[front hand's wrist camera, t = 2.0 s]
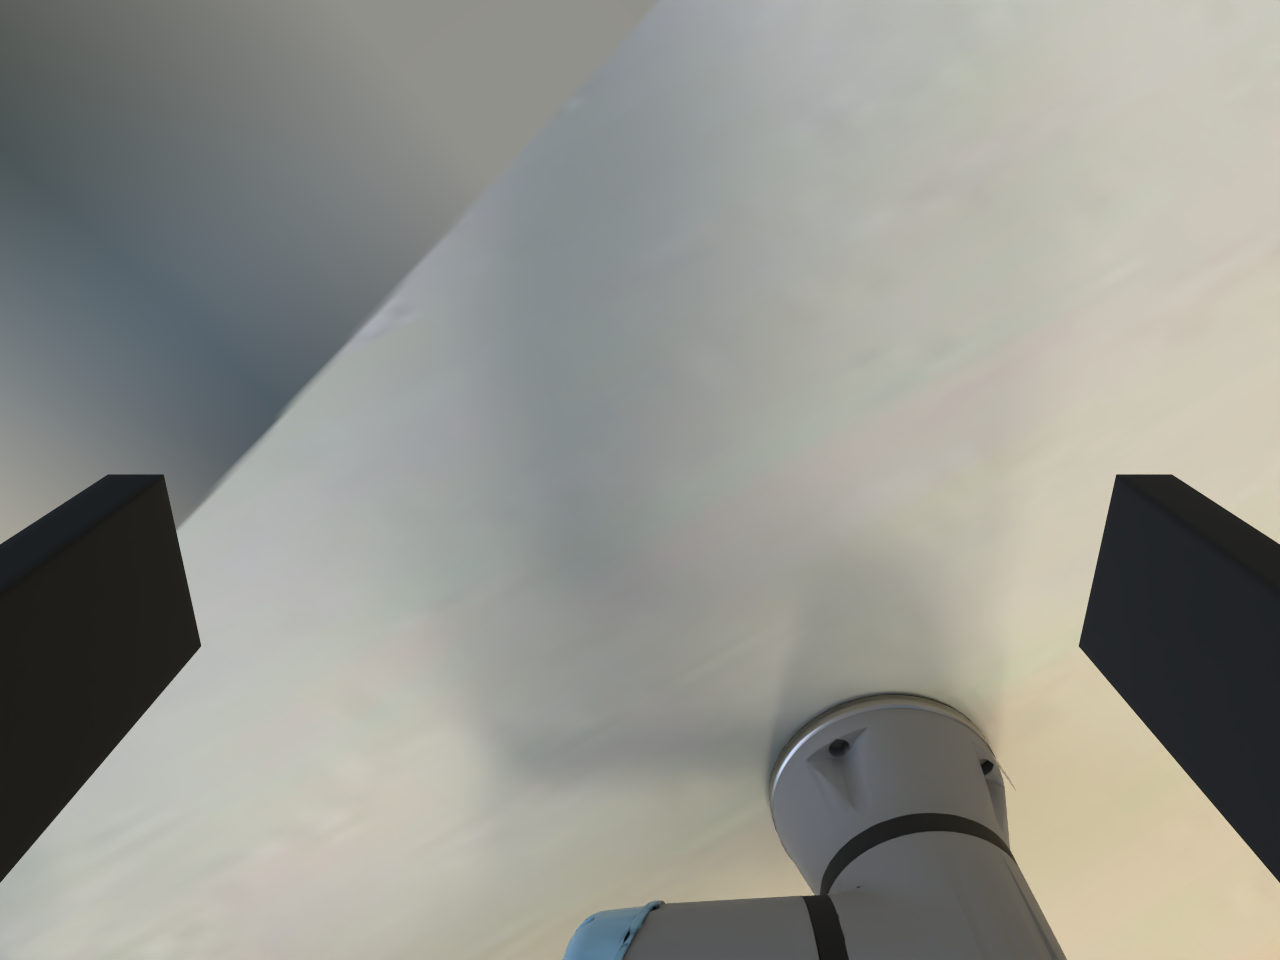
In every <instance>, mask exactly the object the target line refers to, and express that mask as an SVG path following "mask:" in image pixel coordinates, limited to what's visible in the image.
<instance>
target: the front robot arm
mask: <svg viewBox="0 0 1280 960" xmlns="http://www.w3.org/2000/svg"><path fill="white" fill-rule="evenodd" d="M200 647H201V643H200V638H199V634H198V629H197V625H196V620H195V615H194V611H193V606H192V602H191V597H190V593H189V588H188V584H187V579H186V574H185V570H184V565H183V561H182V556H181V552H180V547H179V542H178V538H177V533H176V529H175V524H174V520H173V515H172V510H171V506H170V501H169V497H168V492H167V488H166V483H165V479H164V475H107V476H105V477H104V478H102V479H101V480H99V481H97V482H96V483H94V484H93V485H91V486H90V487H88V488H87V489H85V490H84V491H82V492H80V493H79V494H77V495H76V496H74V497H73V498H71V499H70V500H68V501H67V502H65V503H64V504H62V505H60V506H59V507H57V508H56V509H54V510H53V511H51V512H50V513H48V514H47V515H45V516H43V517H42V518H41V519H39V520H37V521H36V522H34V523H33V524H31V525H30V526H28V527H27V528H25V529H23V530H22V531H20V532H19V533H17V534H16V535H14V536H13V537H11V538H10V539H8V540H6V541H5V542H3V543H2V544H0V882H1V881H2V880H3V879H4V878H5V876H6V875H7V874H8V873H9V872H10V871H11V869H12V868H13V867H14V866H15V865H16V863H17V862H18V861H19V860H20V859H21V858H22V856H23V855H24V854H25V853H26V852H27V851H28V849H29V848H30V847H31V846H32V845H33V843H34V842H35V841H36V840H37V839H38V838H39V836H40V835H41V834H42V833H43V832H44V831H45V829H46V828H47V827H48V826H49V825H50V823H51V822H52V821H53V820H54V819H55V818H56V816H57V815H58V814H59V813H60V812H61V811H62V809H63V808H64V807H65V806H66V805H67V803H68V802H69V801H70V800H71V799H72V798H73V796H74V795H75V794H76V793H77V792H78V791H79V789H80V788H81V787H82V786H83V785H84V783H85V782H86V781H87V780H88V779H89V778H90V776H91V775H92V774H93V773H94V772H95V770H96V769H97V768H98V767H99V766H100V765H101V763H102V762H103V761H104V760H105V759H106V758H107V756H108V755H109V754H110V753H111V752H112V750H113V749H114V748H115V747H116V746H117V745H118V743H119V742H120V741H121V740H122V739H123V738H124V736H125V735H126V734H127V733H128V732H129V730H130V729H131V728H132V727H133V726H134V725H135V723H136V722H137V721H138V720H139V719H140V718H141V716H142V715H143V714H144V713H145V712H146V710H147V709H148V708H149V707H150V706H151V705H152V703H153V702H154V701H155V700H156V699H157V698H158V696H159V695H160V694H161V693H162V692H163V690H164V689H165V688H166V687H167V686H168V685H169V683H170V682H171V681H172V680H173V679H174V677H175V676H176V675H177V674H178V673H179V672H180V670H181V669H182V668H183V667H184V666H185V665H186V663H187V662H188V661H189V660H190V659H191V657H192V656H193V655H194V654H195V653H196V652H197V650H198V649H199V648H200ZM1079 647H1080V648H1081V649H1082V650H1083V652H1084V653H1085V654H1086V655H1087V656H1088V657H1089V659H1090V660H1091V661H1092V662H1093V663H1094V665H1095V666H1096V667H1097V668H1098V669H1099V670H1100V672H1101V673H1102V674H1103V675H1104V676H1105V677H1106V679H1107V680H1108V681H1109V682H1110V683H1111V685H1112V686H1113V687H1114V688H1115V689H1116V690H1117V692H1118V693H1119V694H1120V695H1121V696H1122V698H1123V699H1124V700H1125V701H1126V702H1127V703H1128V705H1129V706H1130V707H1131V708H1132V709H1133V710H1134V712H1135V713H1136V714H1137V715H1138V716H1139V718H1140V719H1141V720H1142V721H1143V722H1144V723H1145V725H1146V726H1147V727H1148V728H1149V729H1150V730H1151V732H1152V733H1153V734H1154V735H1155V736H1156V738H1157V739H1158V740H1159V741H1160V742H1161V743H1162V745H1163V746H1164V747H1165V748H1166V749H1167V750H1168V752H1169V753H1170V754H1171V755H1172V756H1173V758H1174V759H1175V760H1176V761H1177V762H1178V763H1179V765H1180V766H1181V767H1182V768H1183V769H1184V770H1185V772H1186V773H1187V774H1188V775H1189V776H1190V778H1191V779H1192V780H1193V781H1194V782H1195V783H1196V785H1197V786H1198V787H1199V788H1200V789H1201V791H1202V792H1203V793H1204V794H1205V795H1206V796H1207V798H1208V799H1209V800H1210V801H1211V802H1212V803H1213V805H1214V806H1215V807H1216V808H1217V809H1218V811H1219V812H1220V813H1221V814H1222V815H1223V816H1224V818H1225V819H1226V820H1227V821H1228V822H1229V823H1230V825H1231V826H1232V827H1233V828H1234V829H1235V831H1236V832H1237V833H1238V834H1239V835H1240V836H1241V838H1242V839H1243V840H1244V841H1245V842H1246V843H1247V845H1248V846H1249V847H1250V848H1251V849H1252V851H1253V852H1254V853H1255V854H1256V855H1257V856H1258V858H1259V859H1260V860H1261V861H1262V862H1263V863H1264V865H1265V866H1266V867H1267V868H1268V869H1269V871H1270V872H1271V873H1272V874H1273V875H1274V876H1275V878H1276V879H1277V880H1278V881H1279V882H1280V544H1278V543H1277V542H1275V541H1274V540H1272V539H1270V538H1269V537H1267V536H1266V535H1264V534H1263V533H1261V532H1260V531H1258V530H1257V529H1255V528H1253V527H1252V526H1250V525H1249V524H1247V523H1246V522H1244V521H1243V520H1241V519H1240V518H1238V517H1237V516H1235V515H1233V514H1232V513H1230V512H1229V511H1227V510H1226V509H1224V508H1223V507H1221V506H1220V505H1218V504H1216V503H1215V502H1213V501H1212V500H1210V499H1209V498H1207V497H1206V496H1204V495H1203V494H1201V493H1200V492H1198V491H1196V490H1195V489H1193V488H1192V487H1190V486H1189V485H1187V484H1186V483H1184V482H1183V481H1181V480H1180V479H1178V478H1176V477H1175V476H1173V475H1116V478H1115V483H1114V488H1113V492H1112V497H1111V501H1110V506H1109V510H1108V515H1107V520H1106V524H1105V529H1104V533H1103V538H1102V542H1101V547H1100V552H1099V556H1098V561H1097V565H1096V570H1095V574H1094V579H1093V584H1092V588H1091V593H1090V597H1089V602H1088V606H1087V611H1086V615H1085V620H1084V625H1083V629H1082V634H1081V638H1080V643H1079ZM999 767H1000V769H1001V770H1002V772H1003V773H1004V775H1005V776H1006V777H1007V779H1008V780H1009V782H1010V783H1011V781H1010V779H1009V778H1008V776H1007V775H1006V773H1005V772H1004V770H1003V769H1002V768H1001V766H1000V765H999V763H998V762H997V760H996V758H995V756H994V754H993V752H992V750H991V749H990V747H989V745H988V743H987V742H986V740H985V738H984V737H983V735H982V734H981V732H980V731H979V730H978V729H977V727H976V726H975V725H974V724H973V723H972V722H971V721H970V720H968V719H967V718H966V717H964V716H963V715H962V714H960V713H959V712H957V711H956V710H954V709H952V708H950V707H948V706H946V705H944V704H941V703H938V702H936V701H933V700H929V699H925V698H921V697H915V696H907V695H880V696H873V697H866V698H862V699H858V700H854V701H851V702H847V703H844V704H842V705H839V706H837V707H834V708H832V709H830V710H828V711H826V712H824V713H823V714H821V715H819V716H818V717H816V718H814V719H813V720H812V721H810V722H809V723H808V724H806V725H805V726H804V727H803V728H802V729H800V730H799V731H798V732H797V733H796V734H795V735H794V736H793V737H792V738H791V740H790V741H789V742H788V743H787V745H786V746H785V747H784V749H783V750H782V752H781V754H780V755H779V757H778V759H777V761H776V763H775V766H774V769H773V772H772V775H771V780H770V788H769V799H770V806H771V811H772V816H773V821H774V825H775V828H776V831H777V833H778V836H779V838H780V841H781V843H782V845H783V847H784V849H785V851H786V852H787V854H788V856H789V857H790V858H791V859H792V860H793V862H794V863H795V865H796V866H797V868H798V870H799V871H800V873H801V874H802V876H803V878H804V879H805V881H806V882H807V884H808V885H809V887H810V888H811V890H812V891H813V893H814V894H815V895H814V896H790V897H773V898H755V899H738V900H720V901H703V902H686V903H668V904H665V903H664V902H663V901H653V902H650V903H648V904H647V905H645V906H642V907H634V908H625V909H617V910H608V911H601V912H598V913H595V914H593V915H591V916H590V917H588V918H587V919H586V920H585V921H584V922H583V923H582V924H581V925H580V926H579V927H578V929H577V930H576V932H575V934H574V936H573V937H572V938H571V940H570V942H569V944H568V947H567V949H566V952H565V955H564V958H563V960H1067V959H1066V957H1065V955H1064V953H1063V951H1062V949H1061V947H1060V945H1059V943H1058V941H1057V939H1056V938H1055V936H1054V934H1053V932H1052V930H1051V928H1050V926H1049V924H1048V922H1047V920H1046V918H1045V916H1044V915H1043V913H1042V911H1041V909H1040V907H1039V905H1038V903H1037V901H1036V899H1035V897H1034V895H1033V893H1032V892H1031V890H1030V888H1029V886H1028V884H1027V882H1026V880H1025V878H1024V876H1023V874H1022V872H1021V870H1020V869H1019V867H1018V865H1017V863H1016V861H1015V859H1014V857H1013V855H1012V853H1011V851H1010V845H1009V833H1008V822H1007V810H1006V799H1005V788H1004V783H1003V778H1002V775H1001V772H1000V769H999ZM1011 785H1012V783H1011ZM1012 786H1013V785H1012ZM1013 788H1014V786H1013ZM1014 789H1015V788H1014Z"/></svg>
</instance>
